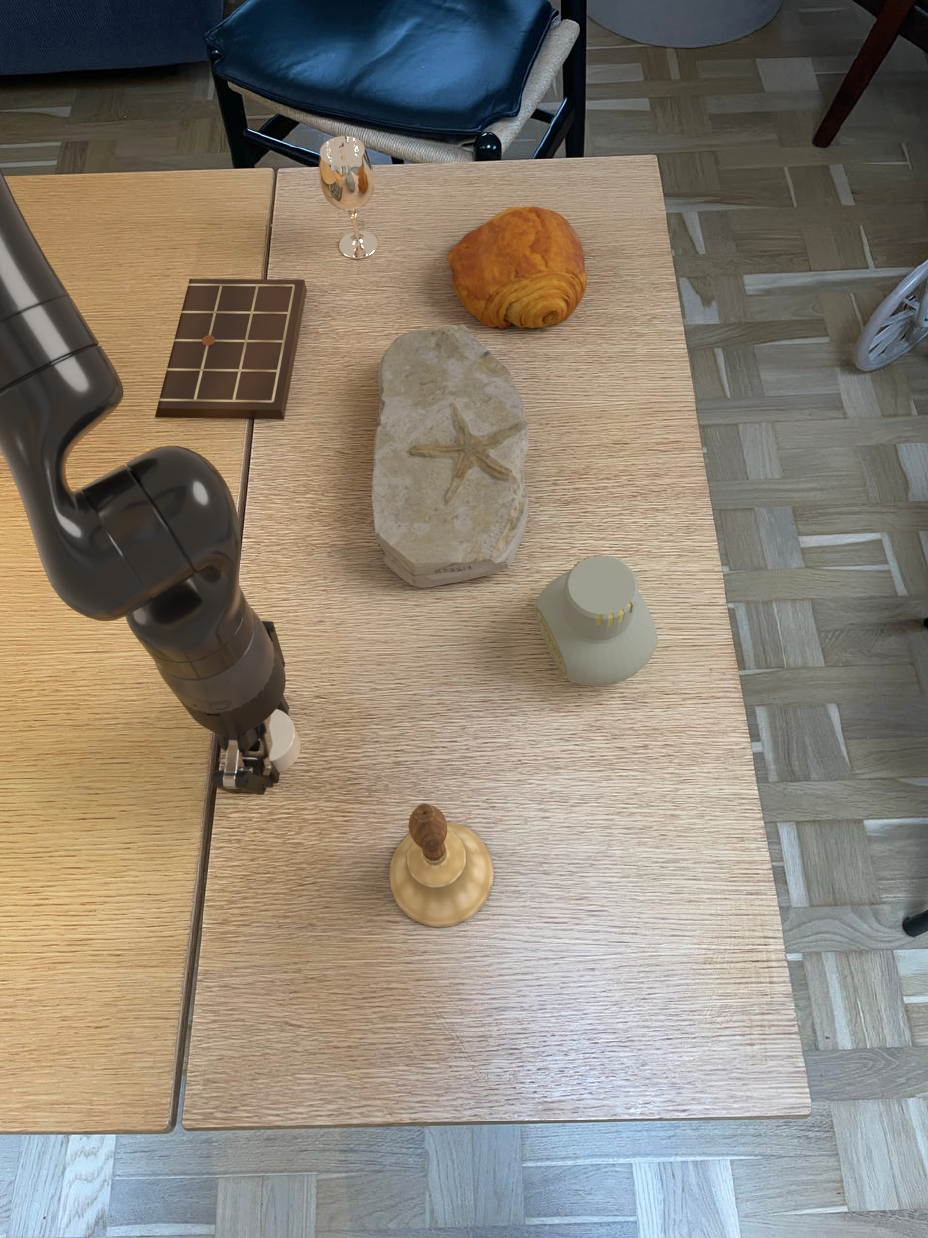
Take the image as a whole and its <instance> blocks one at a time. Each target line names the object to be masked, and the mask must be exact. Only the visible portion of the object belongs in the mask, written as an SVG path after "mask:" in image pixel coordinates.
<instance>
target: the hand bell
mask: <svg viewBox="0 0 928 1238" xmlns="http://www.w3.org/2000/svg"><path fill="white" fill-rule="evenodd" d="M446 819H447V818H446V817H445V815H444V813H443V812H442V810H441V809H439V808H438V807H436V806H434V805H431V804H430V803H426V802H425V803H421V804H418V805H417V806H416V807H415V808H414V810H413V811H412V813H411V814H410V816H409V819H408V831H409V833H408V834H407V835H406V836H405V837H404V838H403V839H402V840H401V842H400V843H399V844H398V846H397V847H396V849H395V851H394V853H393V855H392V857H391V860H390V865H389V870H388V871H389V872H388V875H389V876H388V879H389V886H390V891H391V894H392V897H393V899H394V900H395V902H396V904H397V905H398V907H399V908H400V910H401V911H403V912H404V914H405V915H406V916H408V917H409V918H410V919H412V920H413V921H415V922H417V923H419V924H422V925H424V926H426V927H427V926H428V927H433V928H448V927H453V926H457V925H459V924H461V923H464V922H466V921H467V920H469V919H471V918H472V917H474V916H475V915H476V914H477V913H478V912H479V911H480V910H481V909H482V908H483V907H484V905H485V904H486V902H487V900H488V899H489V896H490V894H491V892H492V889H493V885H494V877H495V868H494V862H493V857H492V855H491V853H490V850H489V848H488V846H487V845H486V843H485V842H484V841H483V839H482V838H481V836H479V835H478V834H477V833H476V832H474V831H473V830H472V829H470V828H468V827H466V826H464V825H463V824H459V823H456V822H453V821H447V820H446Z"/></svg>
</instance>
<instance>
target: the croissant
mask: <svg viewBox="0 0 928 1238" xmlns="http://www.w3.org/2000/svg"><path fill="white" fill-rule="evenodd" d="M585 258H586V257H585V252H584V249H583V246H582V243H581V241H580V237H579V235H578V233H577V232H576V231H575V229H574V227H573V226H572V225H571V223H570V222H569V221H568V219H566V218H565V217H564V216H563V215H562V214H560V213H559V212H556V211H554V210H552V209H548V208H544V207H540V206H533V205H532V206H523V207H522V206H511V207H508V208H506V209H504V210H503V211H500V212H498V213H497V214H495V215H493V217H491V218H489V219H488V220H487V221H486V222H485V223H483V224H481V225H480V226H478V227H477V228H476V229H473V230H471V231H469V232H466V234H465V235H463V237H462V238H461V239H460V241H459V242H457V243H456V244H455V245H454V246H453V247H452V248H451V249H450V250H449V252H448V253H447V256H446V261H447V262H448V264H449V265H450V272H451V273H452V275H451V277H452V279H451V280H452V285H453V288H454V291H455V294H456V295H457V297H458V299H459V300H460V302H461V303H462V305H463V307H464V309H465V310H466V311H467V312H468V314H470V315H471V316H473V317H474V318H475V319H477V320H478V321H479V322H481V323H482V324H483V325H486V326H487V327H489V328H496V327H498V328H499V329H500V330H503V329H505V328H509V326H511V325H512V324H513V325H514V326H516V327H518V328H521V329H523V328H530V329H535V328H546V327H548V326H553V325H557V324H559V323H563V322H565V321H567V320H568V318H570V317H571V315H572V314H573V313H574V312H575V310H576V309H577V307H578V306H579V305H580V303H581V302H582V299H584V296H585V293H586V289H587V284H588V273H587V271H586V265H585V262H586V260H585Z"/></svg>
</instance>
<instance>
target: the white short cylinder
mask: <svg viewBox="0 0 928 1238" xmlns="http://www.w3.org/2000/svg"><path fill="white" fill-rule="evenodd" d="M270 717H271V721H270V724H269V728H270V733H271V737H272V742H273V745H272V749H271V752H270V756H269V757H270V761H272V763H273V764H274V766H275V767H276V769H277V770H278V772H279V773H283V772H284V771H285V770H287V769H289V768H290V767H291V766H293V765H294V764H295V763H296V761H297V759H298V757H299V756H300V753H301V749H302V739H301V736H300V733H299V731H298V730H297V728H296V726H295V724H294V722H293V721H292V719H291V717H290V716H289V714H288V715H287V714H286V713H284V712H283V711H281V710H278V709H276V710H275V711H274V712H273V713H272V714H271V715H270ZM259 740H260V739H259ZM246 759H257V758H246Z"/></svg>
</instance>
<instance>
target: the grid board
mask: <svg viewBox="0 0 928 1238" xmlns="http://www.w3.org/2000/svg"><path fill="white" fill-rule="evenodd" d="M307 291H308V288H307V286H306V281H305V279H287V278H286V279H285V278H284V279H278V278H277V279H275V278H273V279H271V278H270V279H268V278H267V279H266V278H262V279H261V278H189V279H188V283H187V288H186V292H185V295H184V299H183V304H182V306H181V311H180V315H179V319H178V323H177V327H176V330H175V335H174V339H173V343H172V347H171V351H170V354H169V359H168V362H167V366H166V371H165V374H164V379H163V383H162V386H161V390H160V394H159V399H158V403H157V407H156V410H155V415H154V418H171V419H172V418H173V419H174V418H175V419H176V418H177V419H179V418H181V419H231V420H232V419H233V420H234V419H235V420H236V419H237V420H238V419H239V420H285V418H286V417H285V415H286V411H287V405H288V399H289V393H290V387H291V383H292V375H293V370H294V365H295V359H296V355H297V348H298V343H299V337H300V330H301V326H302V319H303V314H304V308H305V302H306V296H307Z"/></svg>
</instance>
